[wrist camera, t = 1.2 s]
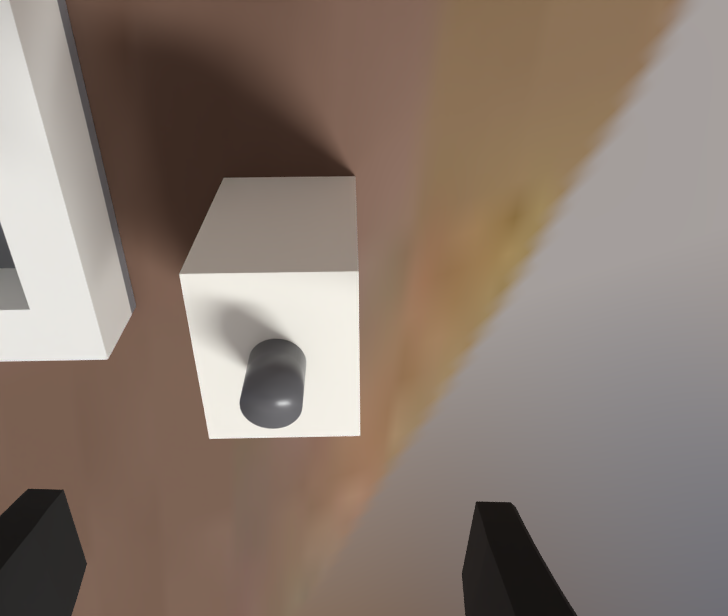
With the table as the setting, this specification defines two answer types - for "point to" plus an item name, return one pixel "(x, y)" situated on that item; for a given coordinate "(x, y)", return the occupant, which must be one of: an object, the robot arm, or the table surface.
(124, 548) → the table surface
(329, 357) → the white drawer with knob
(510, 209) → the table surface
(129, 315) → the white frame
